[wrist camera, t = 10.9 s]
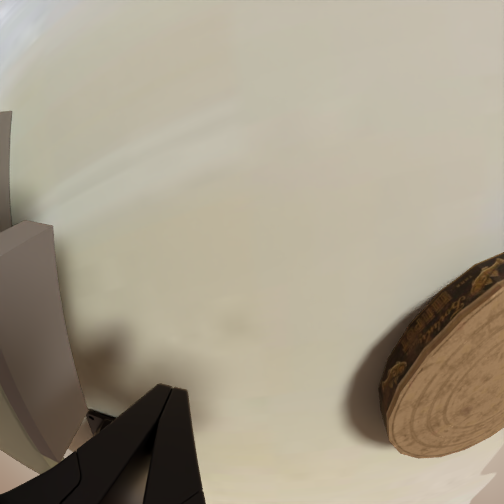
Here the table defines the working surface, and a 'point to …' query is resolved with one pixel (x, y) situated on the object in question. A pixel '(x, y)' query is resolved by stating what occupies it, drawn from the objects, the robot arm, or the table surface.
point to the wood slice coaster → (449, 368)
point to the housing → (5, 170)
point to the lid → (35, 352)
